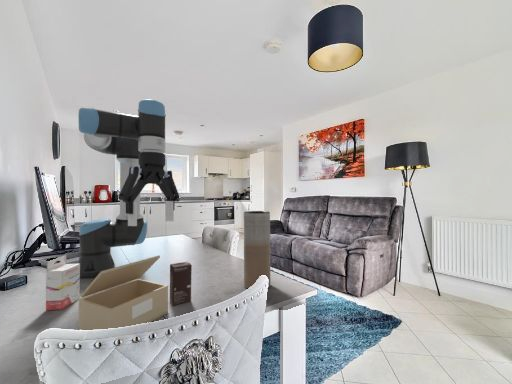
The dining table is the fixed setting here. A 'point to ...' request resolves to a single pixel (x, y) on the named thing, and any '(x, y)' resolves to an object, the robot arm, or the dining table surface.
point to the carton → (124, 305)
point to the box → (180, 282)
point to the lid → (119, 275)
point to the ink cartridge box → (61, 284)
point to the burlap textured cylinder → (256, 246)
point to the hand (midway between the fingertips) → (152, 223)
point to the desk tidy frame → (70, 255)
